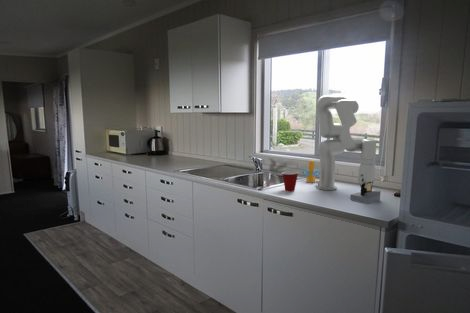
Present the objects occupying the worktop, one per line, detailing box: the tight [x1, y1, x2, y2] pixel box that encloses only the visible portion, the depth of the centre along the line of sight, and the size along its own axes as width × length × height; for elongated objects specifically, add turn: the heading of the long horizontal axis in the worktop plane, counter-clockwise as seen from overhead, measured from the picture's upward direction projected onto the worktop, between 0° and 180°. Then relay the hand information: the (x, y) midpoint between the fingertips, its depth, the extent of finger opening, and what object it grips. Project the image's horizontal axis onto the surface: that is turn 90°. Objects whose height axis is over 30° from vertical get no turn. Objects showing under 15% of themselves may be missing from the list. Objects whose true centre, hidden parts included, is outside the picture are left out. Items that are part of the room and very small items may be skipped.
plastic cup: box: [281, 171, 299, 192], centre depth 206 cm, size 11×11×12 cm
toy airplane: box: [302, 160, 320, 183], centre depth 233 cm, size 12×10×15 cm
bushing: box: [362, 182, 371, 196], centre depth 183 cm, size 4×4×8 cm
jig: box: [349, 189, 381, 204], centre depth 184 cm, size 11×12×5 cm
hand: (366, 193), depth 183 cm, fingers closed on bushing, 4 cm apart
